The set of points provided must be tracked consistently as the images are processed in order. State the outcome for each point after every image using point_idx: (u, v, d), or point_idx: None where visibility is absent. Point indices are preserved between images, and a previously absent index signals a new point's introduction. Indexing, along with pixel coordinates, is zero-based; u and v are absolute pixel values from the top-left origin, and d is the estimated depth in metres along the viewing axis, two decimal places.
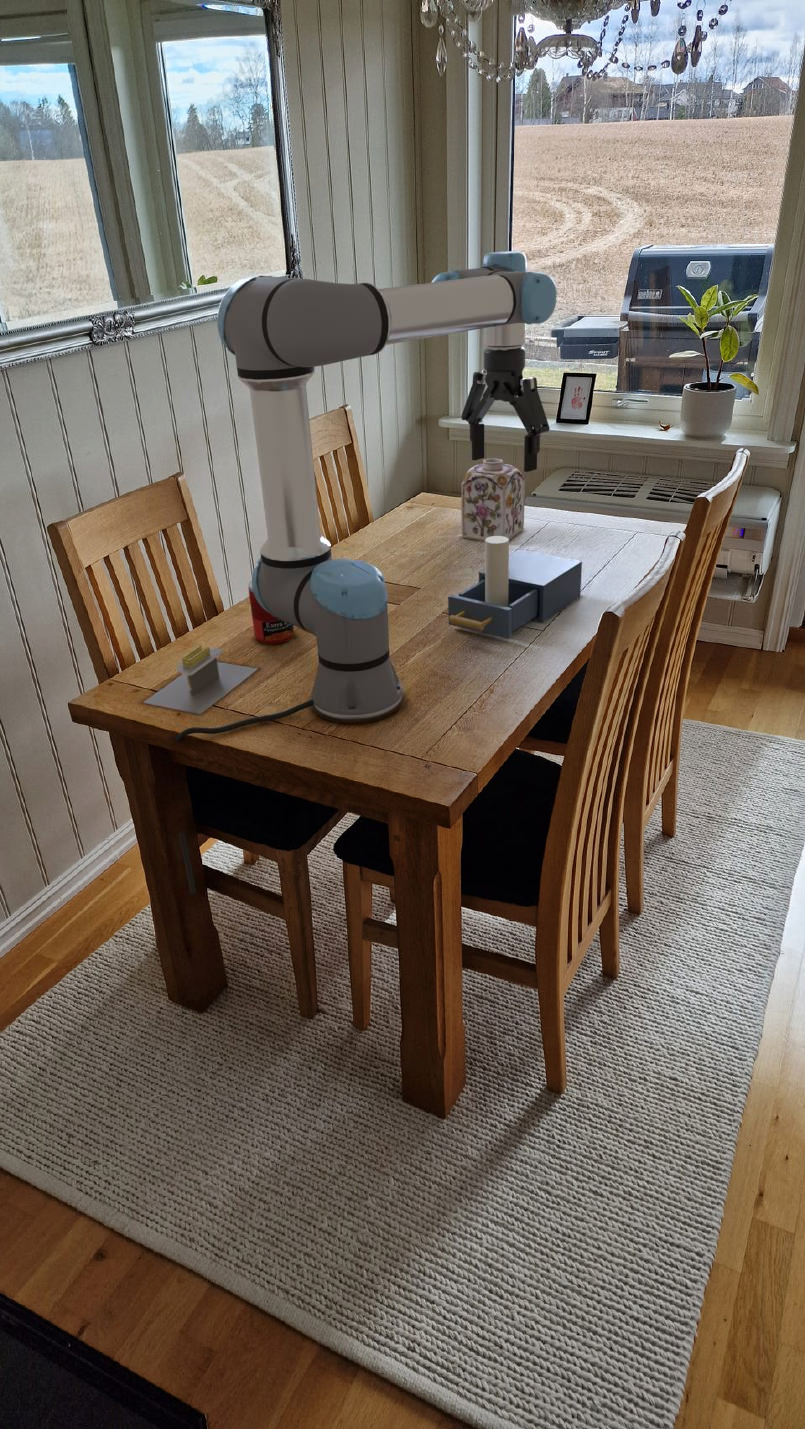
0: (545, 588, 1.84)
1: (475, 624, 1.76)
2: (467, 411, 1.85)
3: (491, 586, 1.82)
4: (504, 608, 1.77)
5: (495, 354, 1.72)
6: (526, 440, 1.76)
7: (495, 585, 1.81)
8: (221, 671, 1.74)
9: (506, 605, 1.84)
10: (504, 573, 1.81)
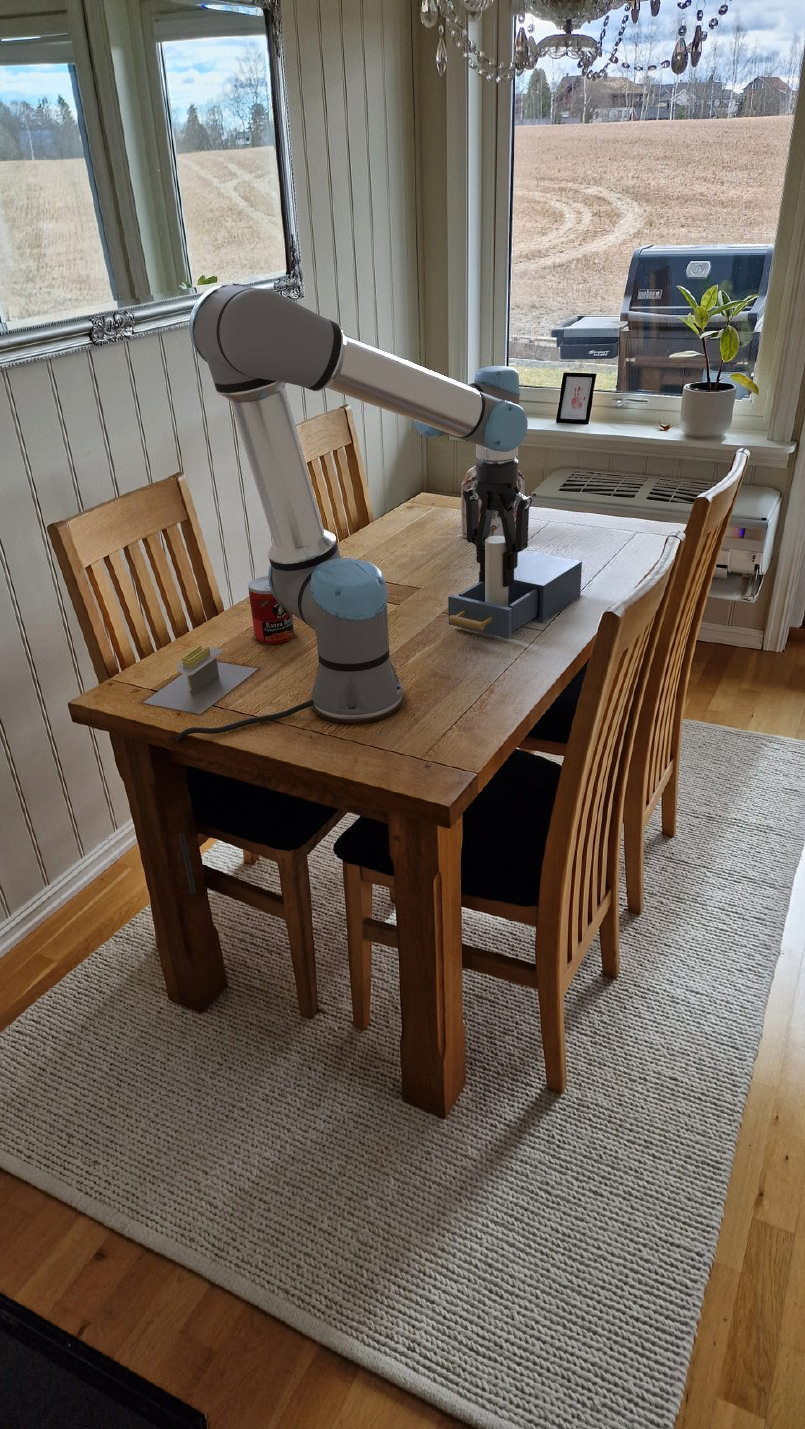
0: (545, 588, 1.84)
1: (475, 624, 1.76)
2: (471, 531, 1.81)
3: (491, 586, 1.82)
4: (504, 608, 1.77)
5: (492, 468, 1.69)
6: (505, 557, 1.78)
7: (495, 585, 1.81)
8: (221, 671, 1.74)
9: (506, 605, 1.84)
10: None
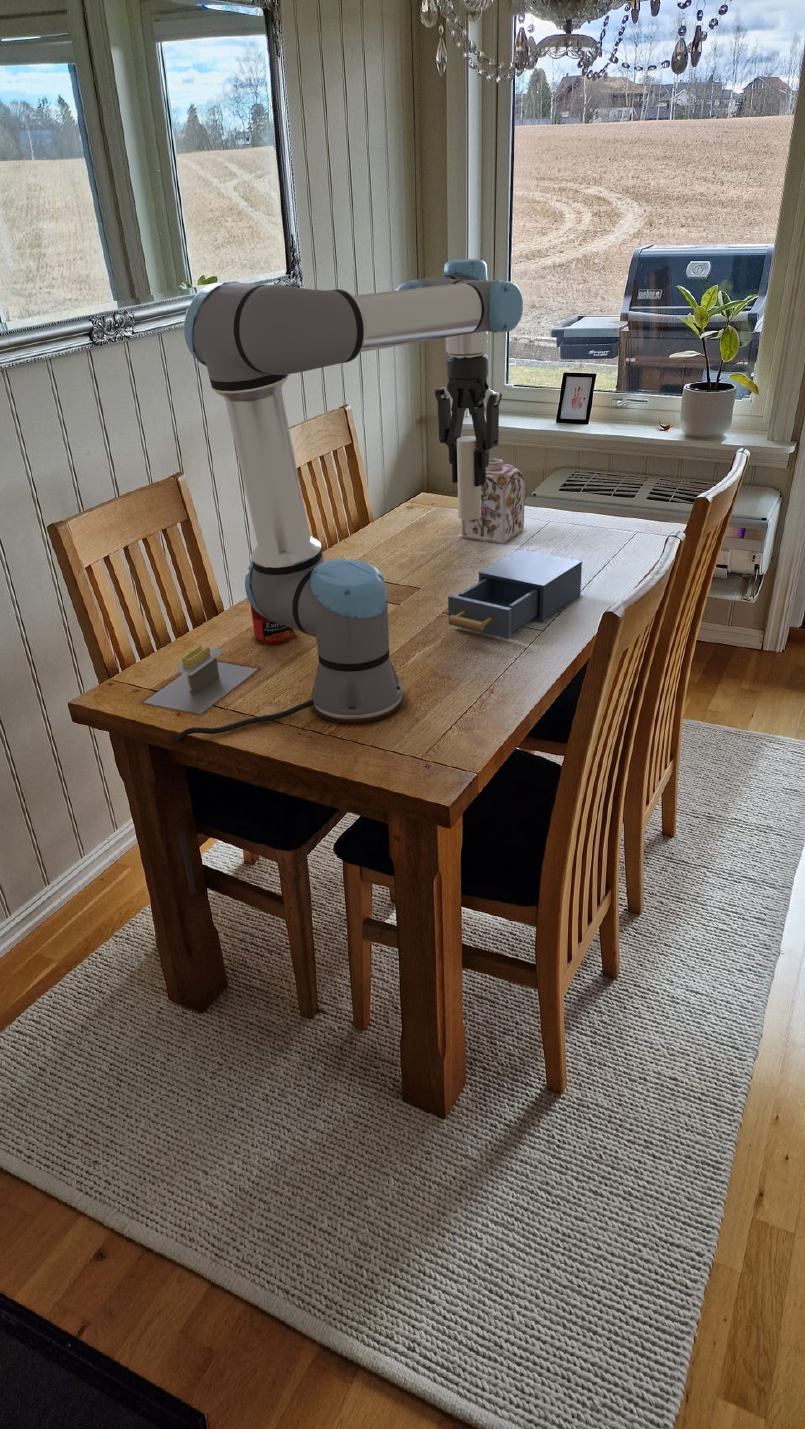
0: (545, 588, 1.84)
1: (475, 624, 1.76)
2: (443, 431, 1.82)
3: (463, 486, 1.83)
4: (504, 608, 1.77)
5: (461, 362, 1.71)
6: (476, 455, 1.80)
7: (467, 485, 1.83)
8: (221, 671, 1.74)
9: (478, 506, 1.86)
10: None
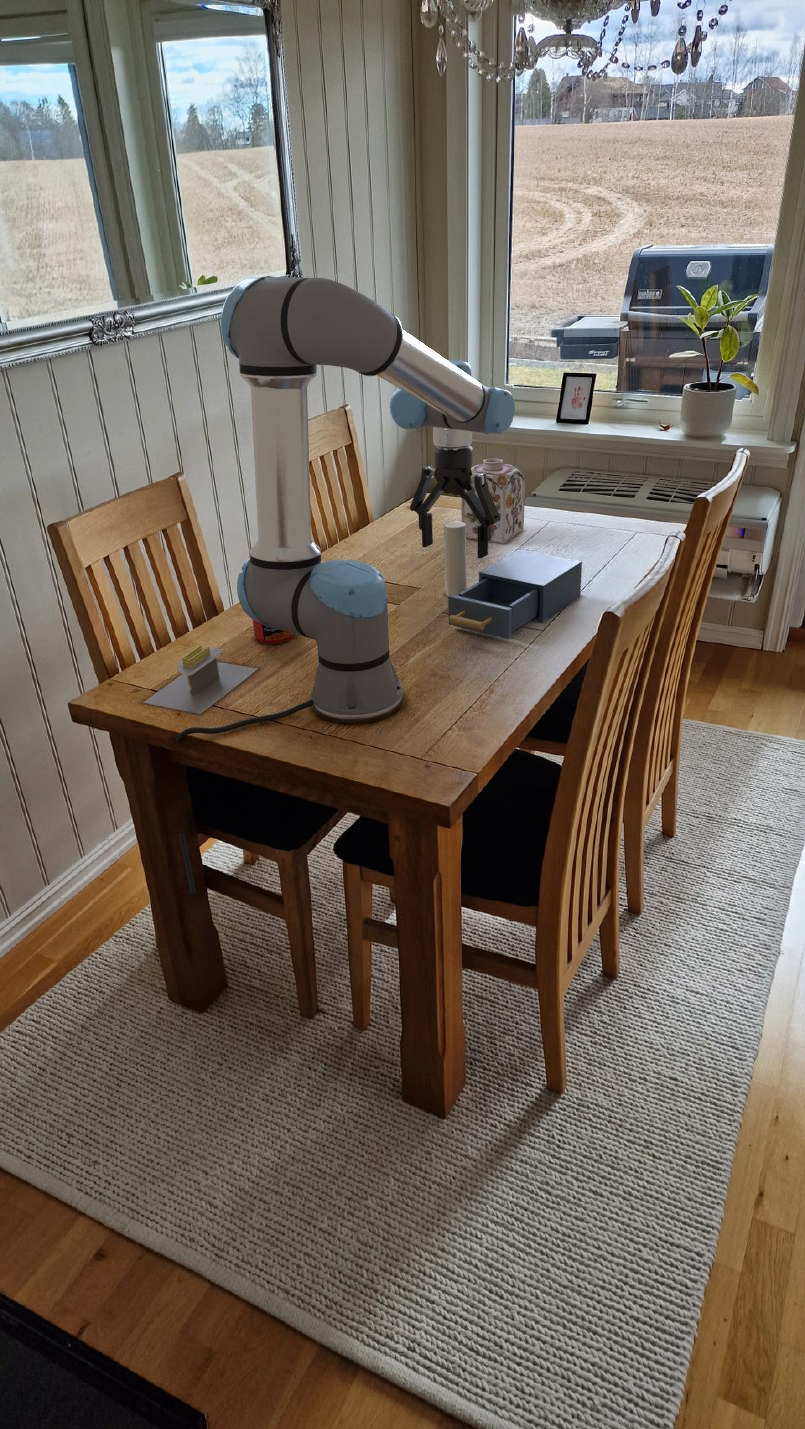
0: (545, 588, 1.84)
1: (475, 624, 1.76)
2: (416, 503, 1.97)
3: (450, 567, 1.97)
4: (504, 608, 1.77)
5: (447, 454, 1.84)
6: (479, 530, 1.90)
7: (453, 567, 1.97)
8: (221, 671, 1.74)
9: (464, 585, 2.00)
10: (462, 555, 1.96)
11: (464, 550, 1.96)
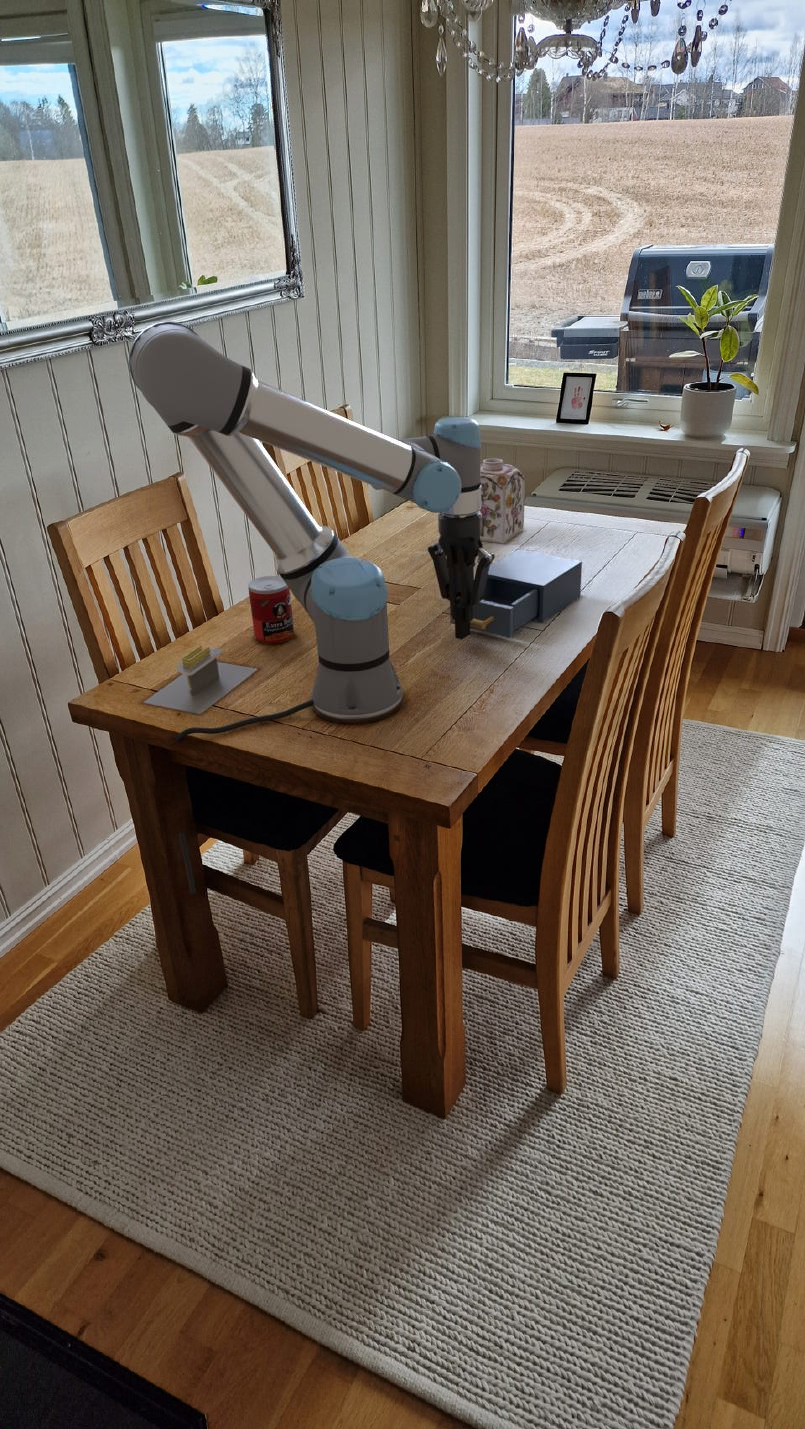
0: (545, 588, 1.84)
1: (477, 623, 1.77)
2: (443, 587, 1.74)
3: None
4: (506, 607, 1.77)
5: (453, 522, 1.64)
6: (459, 610, 1.74)
7: None
8: (221, 671, 1.74)
9: None
10: None
11: None
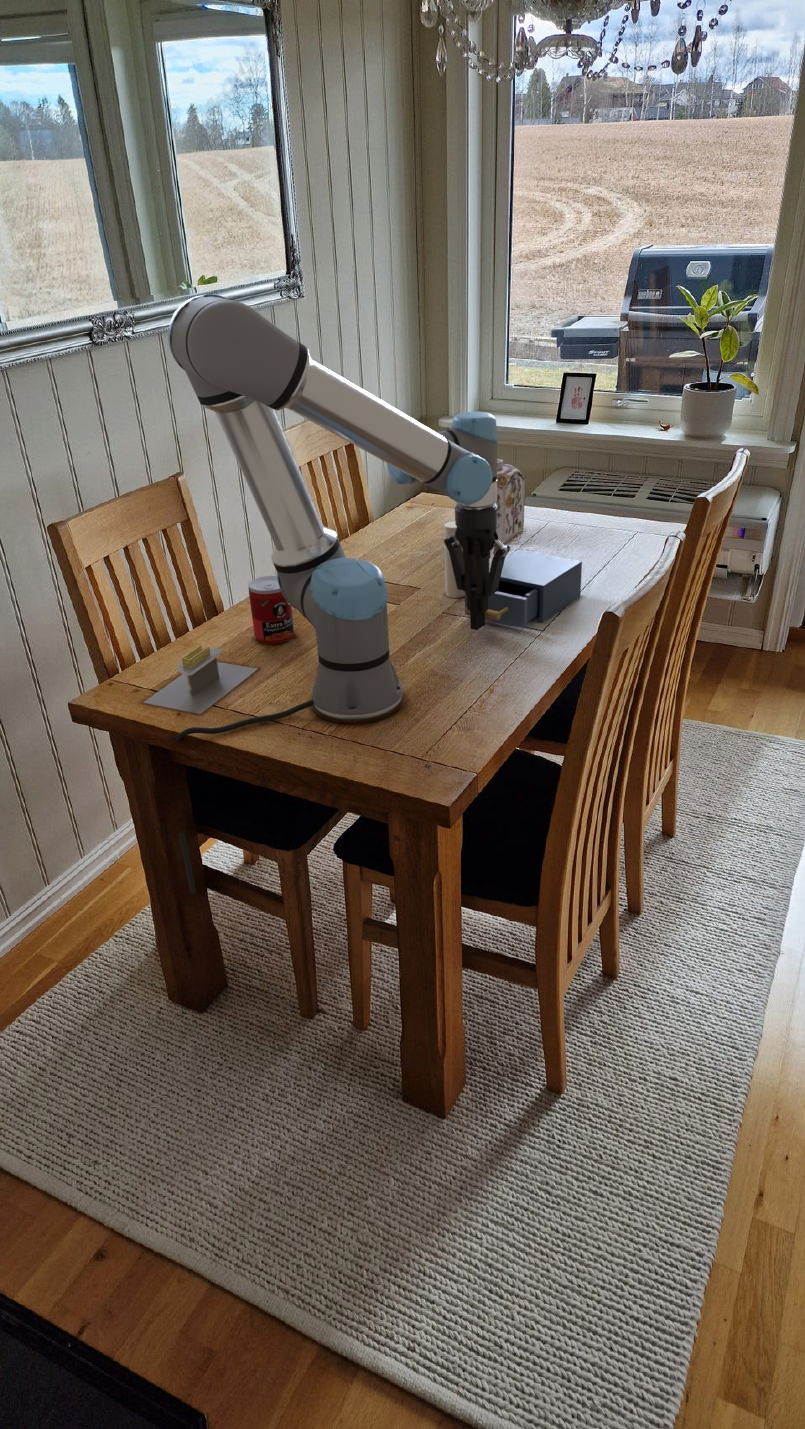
0: (545, 588, 1.84)
1: (492, 614, 1.80)
2: (459, 578, 1.78)
3: (450, 567, 1.97)
4: (520, 598, 1.81)
5: (470, 514, 1.67)
6: (475, 601, 1.78)
7: None
8: (221, 671, 1.74)
9: None
10: None
11: None
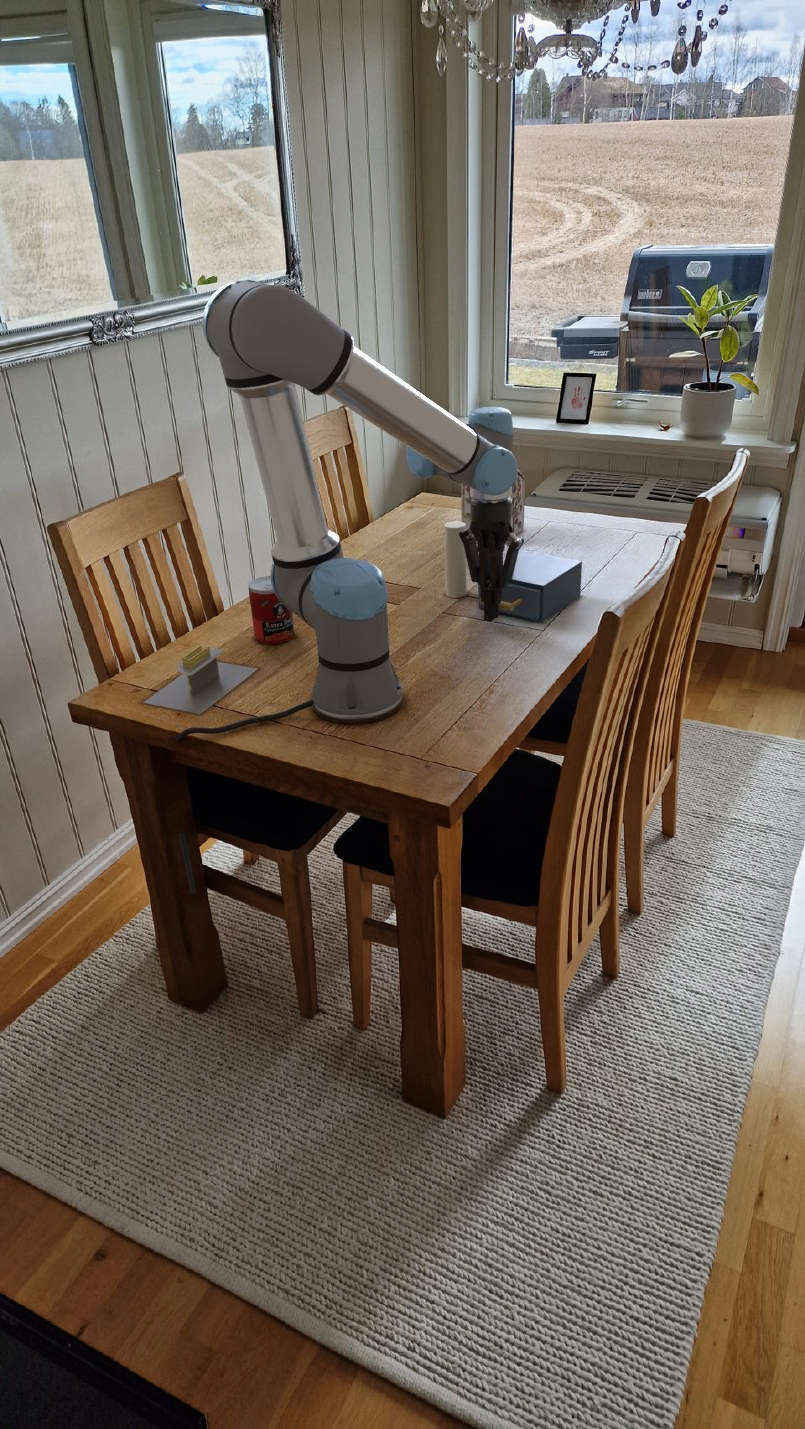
0: (545, 588, 1.84)
1: (505, 605, 1.84)
2: (473, 571, 1.81)
3: (450, 567, 1.97)
4: (533, 590, 1.84)
5: (485, 507, 1.71)
6: (489, 593, 1.81)
7: (453, 567, 1.97)
8: (221, 671, 1.74)
9: (464, 585, 2.00)
10: (462, 555, 1.96)
11: (464, 550, 1.96)
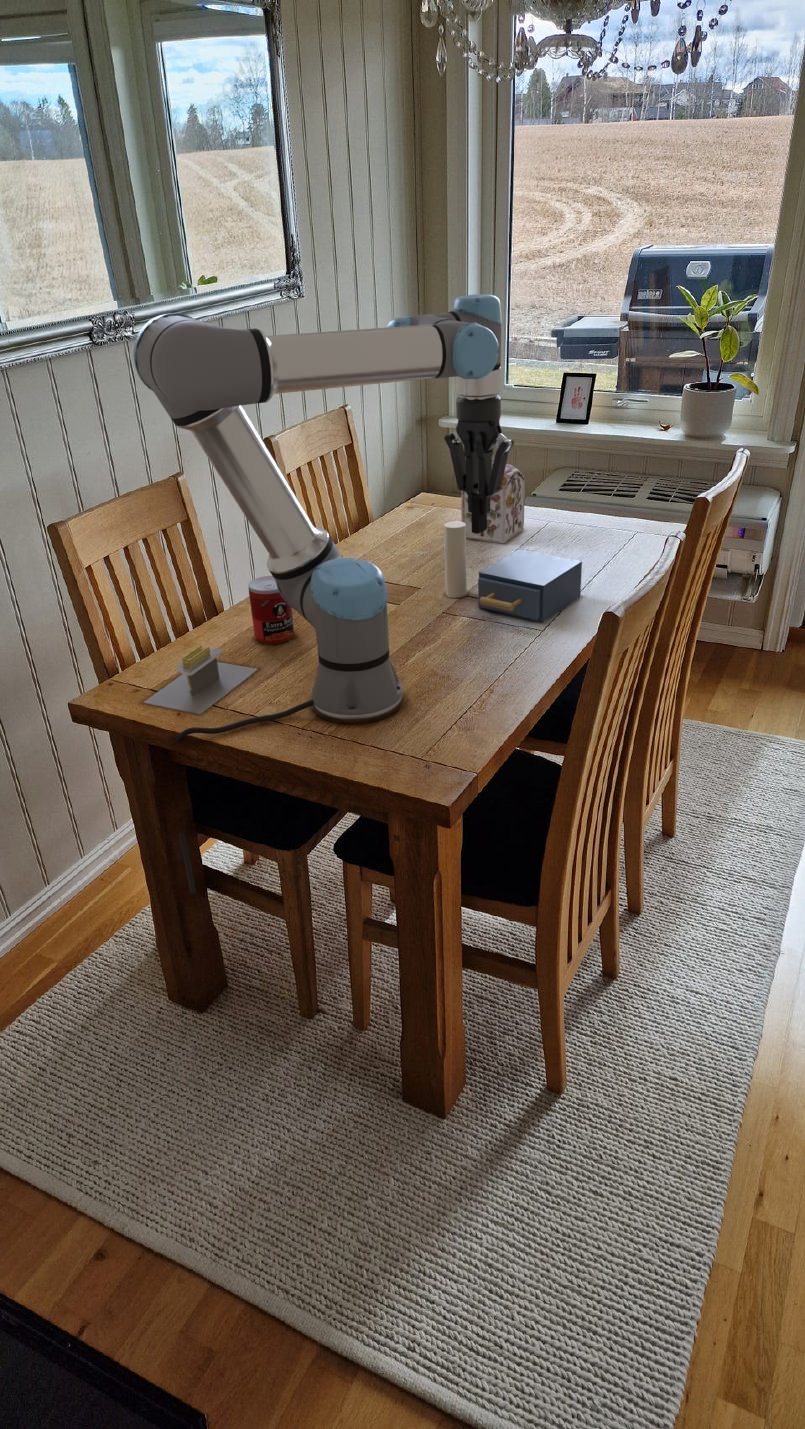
0: (545, 588, 1.84)
1: (505, 605, 1.84)
2: (460, 478, 1.70)
3: (450, 567, 1.97)
4: (533, 590, 1.84)
5: (472, 404, 1.59)
6: (477, 501, 1.70)
7: (453, 567, 1.97)
8: (221, 671, 1.74)
9: (464, 585, 2.00)
10: (462, 555, 1.96)
11: (464, 550, 1.96)
